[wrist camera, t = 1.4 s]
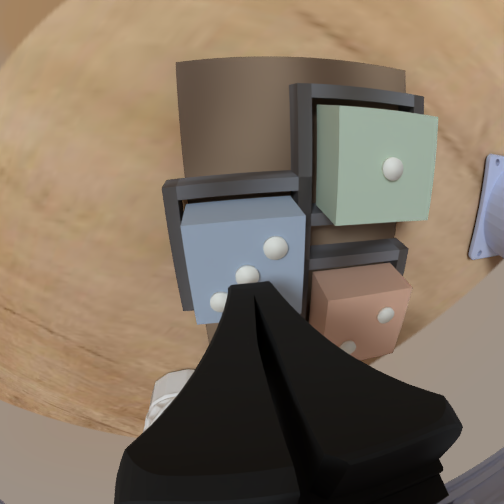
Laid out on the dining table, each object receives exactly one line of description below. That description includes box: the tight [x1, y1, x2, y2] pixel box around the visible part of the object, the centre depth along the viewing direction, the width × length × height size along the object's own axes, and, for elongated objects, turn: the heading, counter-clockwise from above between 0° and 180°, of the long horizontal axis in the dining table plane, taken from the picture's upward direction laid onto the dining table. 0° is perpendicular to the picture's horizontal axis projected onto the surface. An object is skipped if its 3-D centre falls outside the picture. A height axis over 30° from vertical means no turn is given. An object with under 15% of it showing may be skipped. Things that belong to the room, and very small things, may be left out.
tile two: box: [309, 263, 413, 360], centre depth 15 cm, size 4×4×3 cm
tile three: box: [180, 196, 306, 324], centre depth 13 cm, size 4×4×3 cm
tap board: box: [162, 57, 424, 344], centre depth 15 cm, size 12×17×2 cm
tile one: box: [316, 105, 438, 226], centre depth 12 cm, size 4×4×3 cm
